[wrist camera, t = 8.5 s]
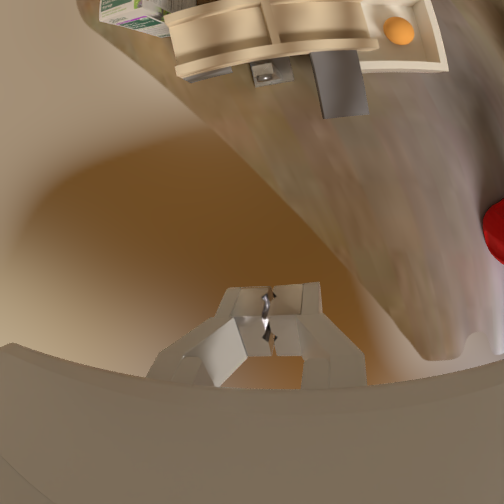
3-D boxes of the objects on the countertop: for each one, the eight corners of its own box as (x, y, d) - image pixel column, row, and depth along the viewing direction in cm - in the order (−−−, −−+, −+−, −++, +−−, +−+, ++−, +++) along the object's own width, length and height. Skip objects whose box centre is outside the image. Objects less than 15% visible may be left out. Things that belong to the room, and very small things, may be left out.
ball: (375, 15, 22) (405, 12, 20) (385, 21, 25) (412, 19, 22) (383, 43, 24) (414, 41, 22) (392, 48, 27) (420, 46, 24)
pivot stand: (238, 14, 28) (215, -9, 20) (275, 6, 27) (263, -21, 18) (256, 88, 33) (239, 85, 25) (294, 82, 32) (289, 75, 24)
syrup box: (160, 39, 31) (96, 24, 19) (161, 5, 28) (101, -19, 16) (196, 32, 30) (141, 9, 18) (197, -2, 27) (146, -36, 15)
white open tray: (317, 2, 25) (317, -11, 21) (415, 2, 22) (427, -8, 17) (336, 74, 30) (339, 71, 26) (433, 73, 27) (448, 71, 22)
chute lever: (204, 138, 32) (194, 145, 26) (179, 33, 26) (163, 15, 19) (364, 111, 31) (391, 113, 24) (340, 10, 24) (362, -10, 18)
